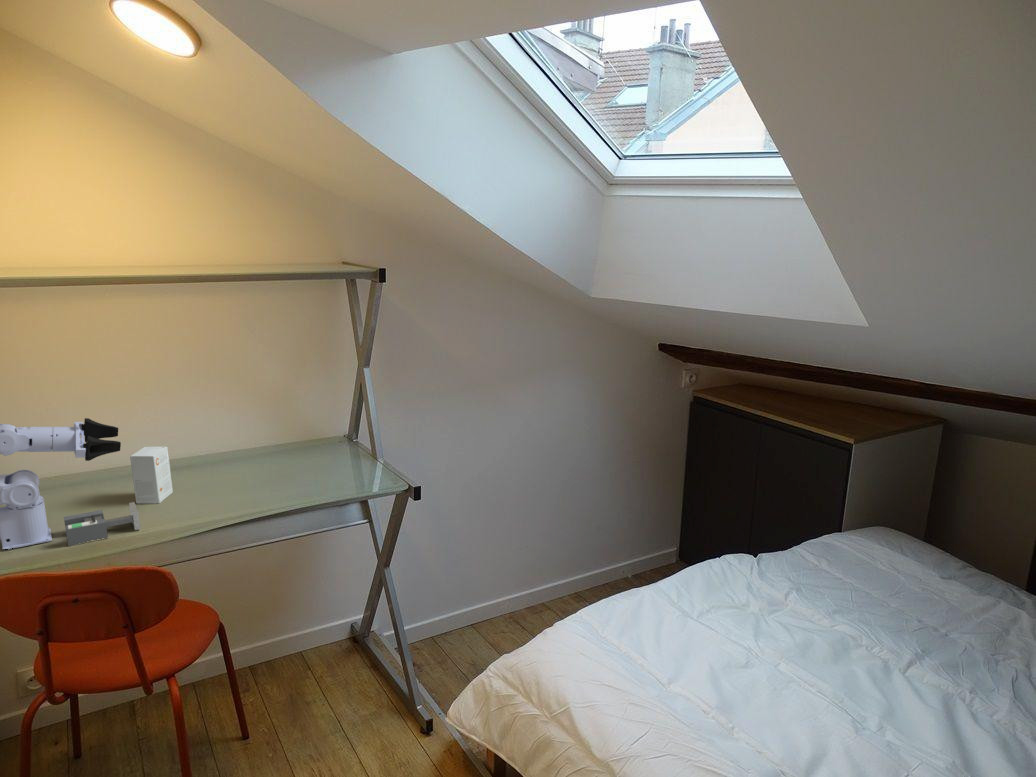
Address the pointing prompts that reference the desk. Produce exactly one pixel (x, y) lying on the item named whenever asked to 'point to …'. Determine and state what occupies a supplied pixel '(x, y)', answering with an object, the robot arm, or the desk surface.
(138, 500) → the small box
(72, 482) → the desk surface
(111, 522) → the plunger
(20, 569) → the desk surface
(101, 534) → the gauge housing
